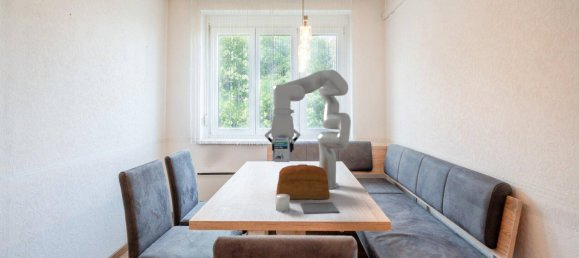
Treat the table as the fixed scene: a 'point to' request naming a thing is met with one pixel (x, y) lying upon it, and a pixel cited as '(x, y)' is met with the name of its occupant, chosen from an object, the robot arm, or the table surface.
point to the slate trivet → (319, 207)
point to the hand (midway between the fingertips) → (282, 151)
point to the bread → (303, 182)
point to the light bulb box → (282, 149)
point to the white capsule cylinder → (282, 202)
